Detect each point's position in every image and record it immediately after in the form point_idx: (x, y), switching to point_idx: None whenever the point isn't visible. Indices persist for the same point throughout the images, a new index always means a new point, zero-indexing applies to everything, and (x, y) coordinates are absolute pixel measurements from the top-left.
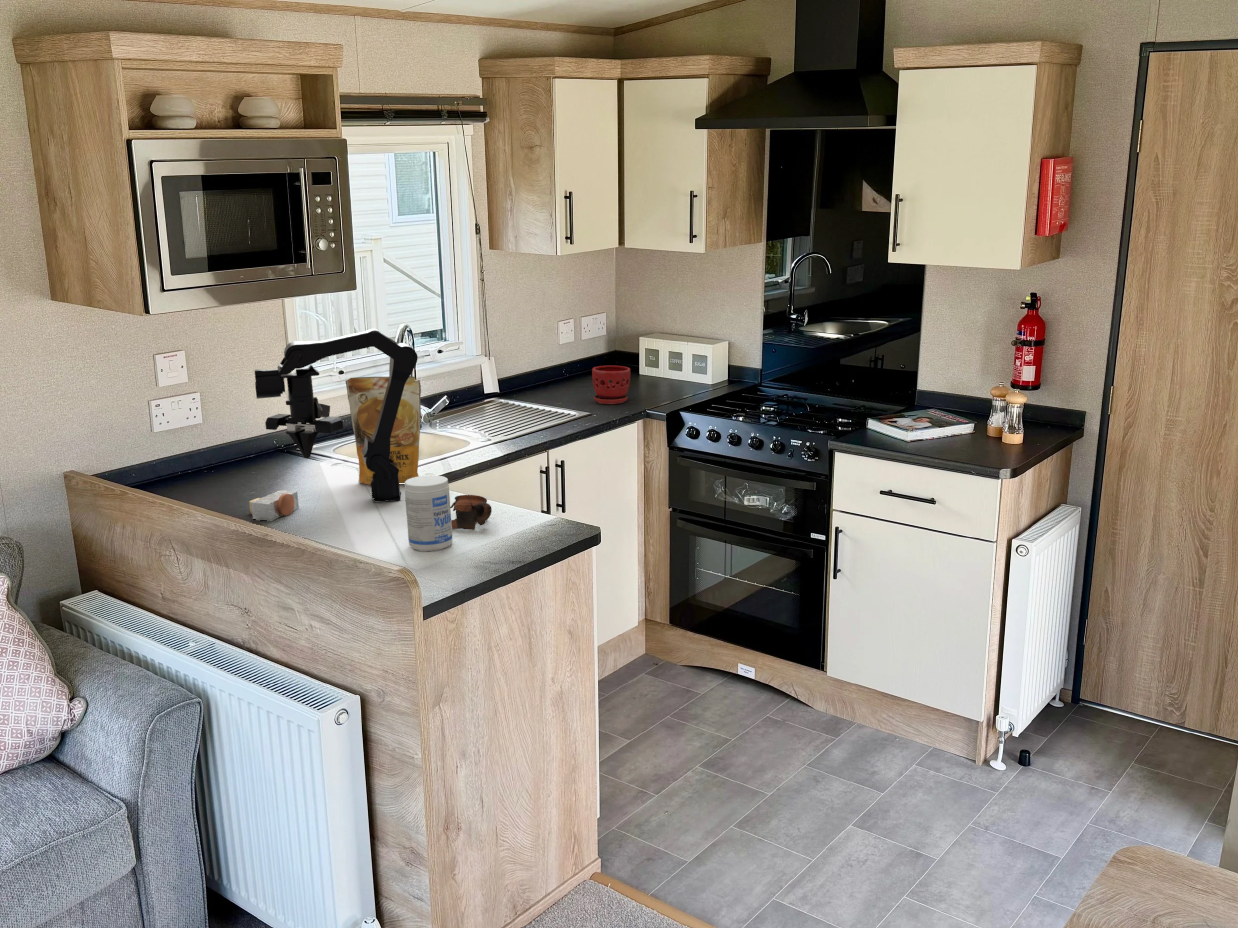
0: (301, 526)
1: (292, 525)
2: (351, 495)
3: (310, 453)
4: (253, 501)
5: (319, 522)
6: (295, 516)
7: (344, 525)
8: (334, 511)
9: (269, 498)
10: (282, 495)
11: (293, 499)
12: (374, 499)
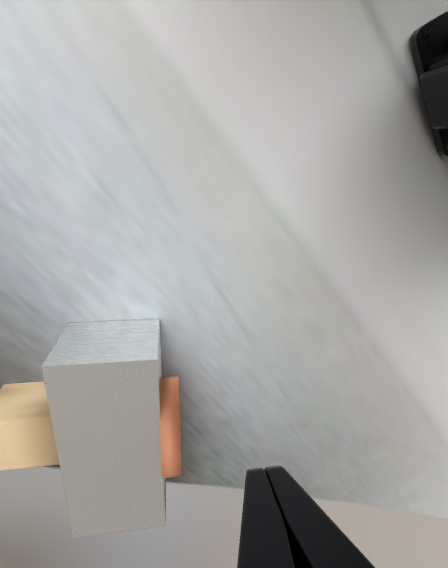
0: (298, 460)
1: (264, 463)
2: (279, 55)
3: (310, 508)
4: (8, 463)
5: (333, 416)
6: (214, 397)
7: (423, 412)
8: (325, 307)
9: (107, 478)
10: (169, 472)
11: (179, 395)
12: (444, 140)
